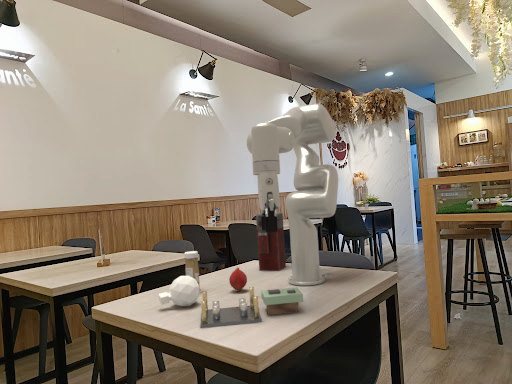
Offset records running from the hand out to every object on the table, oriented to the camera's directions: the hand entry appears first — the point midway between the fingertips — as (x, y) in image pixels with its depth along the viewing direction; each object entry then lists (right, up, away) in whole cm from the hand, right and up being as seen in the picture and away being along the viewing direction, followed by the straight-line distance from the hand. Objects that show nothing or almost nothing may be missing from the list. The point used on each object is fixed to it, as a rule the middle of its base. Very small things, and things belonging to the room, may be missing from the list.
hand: (269, 230), depth 105 cm
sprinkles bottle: (-25, -23, +24) cm, 41 cm away
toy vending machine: (+3, -22, +54) cm, 58 cm away
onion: (-9, -22, +21) cm, 32 cm away
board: (+3, -18, -3) cm, 19 cm away
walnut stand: (+3, -21, -3) cm, 22 cm away
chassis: (-10, -22, -6) cm, 25 cm away
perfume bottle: (-26, -23, +8) cm, 36 cm away
